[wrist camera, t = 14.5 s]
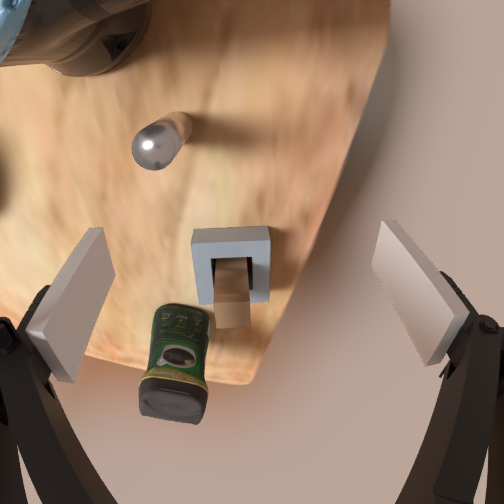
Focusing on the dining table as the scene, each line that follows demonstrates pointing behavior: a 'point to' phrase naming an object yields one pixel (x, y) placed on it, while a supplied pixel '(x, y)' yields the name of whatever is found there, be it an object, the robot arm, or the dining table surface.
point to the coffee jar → (176, 366)
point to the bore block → (228, 246)
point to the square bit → (231, 293)
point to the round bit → (161, 141)
